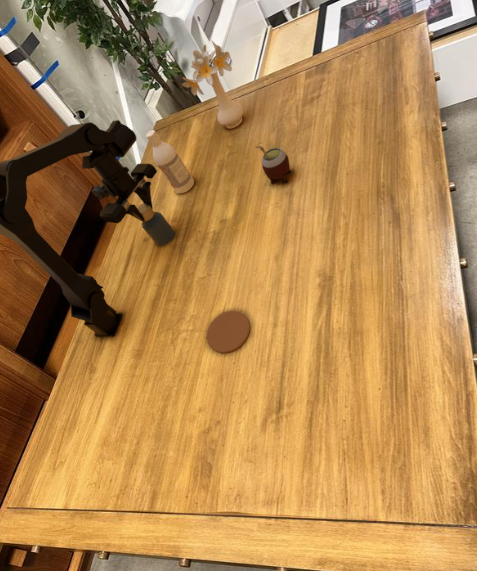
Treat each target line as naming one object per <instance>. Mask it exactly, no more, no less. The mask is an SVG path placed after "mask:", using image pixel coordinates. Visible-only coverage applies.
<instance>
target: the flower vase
mask: <svg viewBox="0 0 477 571" xmlns="http://www.w3.org/2000/svg"><path fill="white" fill-rule="evenodd" d="M210 41H211V44H212V46H213V48H214V50H213V51H211V52H210V53H209V51H207V45H206V44H203V45H202V48H201V50H200V51H201V52H200V51H199V50H196V49H195V50H193V52H192V55H193V57H194V60H191V66H190V67H191V68H192V69H193V70H194V72H193V74H192V79H191V78H187V77H184V76H183V77H182V79H183V80H184V81H185V82H182V83H181V86H183V87H184V88H190V92H191V94H192V95H193V96H197V94H198V93H199V94H200V95H201V96H204V95H205V93H204V92H203V90H202V88H201V87H200V85H199V83H201V82H202V81H203V80H204V79H205V81H206V84H208V85H210V86H211V87H212V88H213V89H212V90H213V91H214V94H215V96H216V99H217V101H218V110H217V114H216V119H217V122H218V124H219V125H221V126H223V127H225V128H226V129H231V130H232V129H234V128H236V127H238V126H239V125H240V124H241V123H242V121H243V116H244V108H243V106H242V105H241V104H240V103H239V102H237V101H234V100H232V99H231V97H229V95H228V93H227V92H226V91H225V89H224V86H223V84H222V82H221V80H220V77H223V76H224V75H225V71H226V72H232V71H233V68H232V66H231V65H230V63H228V60H229V59H230V57H231V54H230V52H229V51H225V52H224V50H223V48H222V47H221V46H220V45H217V44H216V43H215V42H214V40H212V39H210ZM219 76H220V77H219Z"/></svg>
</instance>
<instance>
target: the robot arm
mask: <svg viewBox="0 0 477 571" xmlns="http://www.w3.org/2000/svg"><path fill="white" fill-rule="evenodd" d="M136 142H137V135H136V133H135V131H133V129H131V127H128V126H127V125H125V124H124V123H122V122H121V121H120V120H119V119H115V120H112V121H111V123H110V125H109V126H108V127H107V129H106V130H103V129H100V128H99V127H98V126H97V124H95V123H93V122H91V121H90V122H83V123H82V122H81V123H76V124H75V123H74V124H71V125H69V126H68V127H66V128H65V129H63V130H61V132H59V134H58V135H57V136H56V137H55V138H54V139H52V140H49V141H48V142H46V143H43V144H41V145H38V146H37V147H34V148H32V149H30V150H27V151H25V152H23V153H20V154H18V155H16V156H14V157H12V158H10V159H9V158H8V159H6V160H2V161H0V235H2V236H4V237H6V238H8V239H9V240H10V241H13V242H14V243H16V244H17V245H18V246H19V247H20V248H21V249H22V250H23V251H24V252H25V253H26V254H27V255H28V256H29V257H30V258H31V259H32V260H34V261H35V263H36V264H38V265H39V267H40V268H42V269H43V270H44V271H45V272H46V273H47V274H48V275H49V276H50V277H51V278H52V279H53V280H54V281H55V282H56V283H57V284H58V285H59V286H60V288H61V291H62V294H63V296H64V297H65V299H66V300H67V302H68V303H69V305H70V316H71V318H74V319H77V320H81V321H84V323H83V325H84V326H85V327H87V328H88V329H90V330H91V331H92V332H94V337H97V338H99V337H100V338H102V337H103V338H104V337H105V338H107V337H108V338H110V337H111V338H112V337H115V336H116V333H117V331H118V328H119V326H120V324H121V321H122V320H123V316H124V314H123V313H122V312H119V313H118V312H117V310H115V309H114V308H113V307H112V306H111V305H109V304H108V302H107V301H106V299H105V295H106V294H105V291H104V290H103V289H104V286H102V285H101V284H99V283H98V281H97V280H96V279H95V278H94V276H92V275H88V274H87V275H86V274H81V273H77V272H76V271H75V269H74V268H72V266H71V265H70V264H68V263H67V261H66V260H65V259H64V258H63V257H62V256H61V255H60V253H58V252H57V251H56V250H55V248H54V247H52V245H51V244H50V243H48V241H47V240H45V238H44V237H43V236H42V235H41V234H40V233H39V232H38V231H37V228H36V226H35V223H34V221H33V217H32V216H31V214H30V213H29V212H28V210H27V209H26V205H27V200H28V190H27V181H28V177H30V176H31V175H34V174H35V173H36V174H37V173H39V172H40V171H43V170H44V169H46V168H48V167H50V166H52V165H55V164H56V163H58V162H60V161H62V160H64V159H66V158H68V157H70V156H75V155H78V154H85V153H89V154H88V155H83V156H82V157H81V158H82V162H81V169H84V170H85V169H86V170H87V169H94V170H95V171H96V172H97V174H98V175H99V176H100V177H101V178H102V179H101V183H100V185H96V186H94V187H93V188H92V190H91V193H92V194H93V196H95V198H97V199H98V200H100V201H102V200H104V199H105V198H106V199H107V198H109V196H111V198H116V197H117V199H116V201H115V202H107V203H106V204H105V205H104V207H103V208H102V210H101V211H99V215H100V218H101V219H102V220H103V222H104V223H112V224H119V223H121V222H122V221H123V220H124V219H125V217H126V215H129V216H131V217H133V218H135V219H137V220H139V222H143V221H145V220H144V218H143V216H142V215H141V213H140V212H139V210H138V209H137V208H138V206H136V204H131V203H130V202H129V199H130V198H131V196H132V195H133V194H134V193H135V195H137V197H138V198H139V199H140V201H141V202H142V204H143V203H147V204H148V205H149V206H150V207H151V208H152V210H154V209H153V207H154V206H153V201H152V194H151V192H152V191H151V185H152V182H151V181H147V180H146V179H153V178H154V177H155V175H156V174H157V173H158V170H157V169H156V166H154V165H153V164H152V163H137V164H136V165H135V166H134V168H133V169H132V170H131V172H130V169H129V167H128V166H123V164H122V163H121V162H120V160H119V159H118V158H125V156H126V155H127V153H129V151H130V150H131V148H132V147H133V146H134V145H135V143H136ZM129 172H130V174H129ZM145 178H146V179H145Z"/></svg>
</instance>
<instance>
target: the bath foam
mask: <svg viewBox="0 0 477 571" xmlns="http://www.w3.org/2000/svg"><path fill="white" fill-rule="evenodd" d="M145 137H146V139H147V140H148V142H149V144H151V146H152V158H153V161H154V163H155V164H156V166H157V167H158V169H159V171H160V172H161V173H162V175H163V176H164V178H165V179H166V180H167V182H168V183H169V185H170V186H171V188H172V189H173V190H174V192H175V193H177V194H184V193H186V192H188V191H190V190H191V189H193V187H194V185H195V179H194V178H193V176H192V174H191V173H190V171H189V169H188V168H187V166H186V165H185V163H184V162H183V160H182V158H181V156H180V155H179V154H178V152H177V150H176V149H175V148H174V147H173V146H172V145H171V144H169V143H167V142H165V141H163V140H162V139H160V136H159V135H158V133H157V132H156V130H154V129H151V130H149V131H147V133H146V134H145Z"/></svg>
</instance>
